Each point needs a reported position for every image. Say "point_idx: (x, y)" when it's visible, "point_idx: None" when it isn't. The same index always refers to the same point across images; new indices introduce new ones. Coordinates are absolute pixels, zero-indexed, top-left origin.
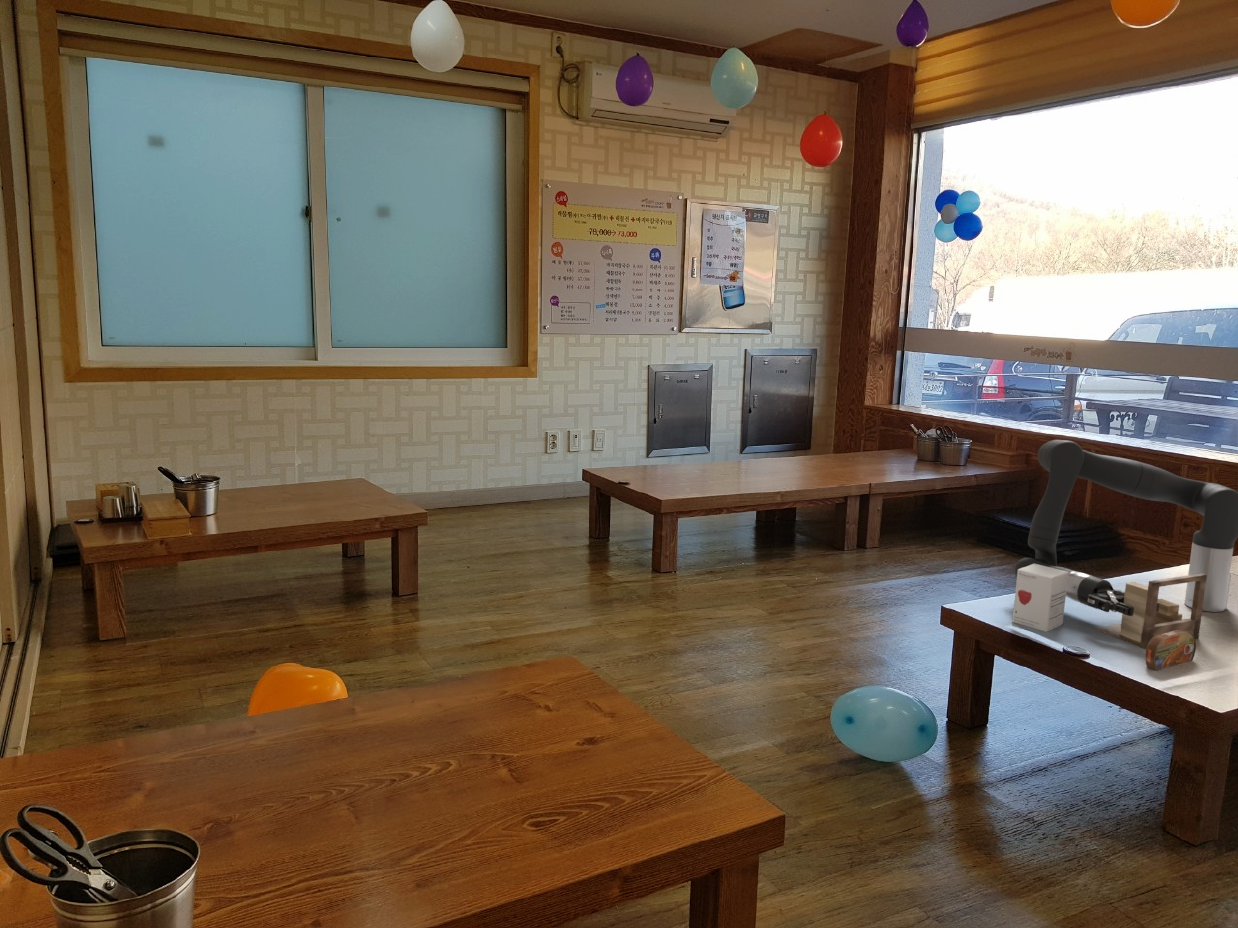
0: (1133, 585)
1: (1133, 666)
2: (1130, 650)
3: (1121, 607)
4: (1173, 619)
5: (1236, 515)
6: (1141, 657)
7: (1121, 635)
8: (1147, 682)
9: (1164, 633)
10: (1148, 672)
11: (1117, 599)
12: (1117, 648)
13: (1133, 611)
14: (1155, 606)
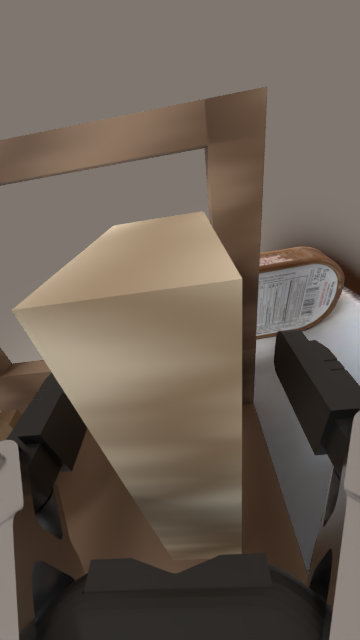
0: (218, 239)
1: (340, 349)
2: (279, 431)
3: (346, 374)
4: (20, 415)
5: None
6: (279, 383)
7: (243, 538)
8: (348, 302)
9: (278, 263)
10: (319, 326)
11: (269, 568)
12: (322, 460)
13: (277, 345)
14: None
